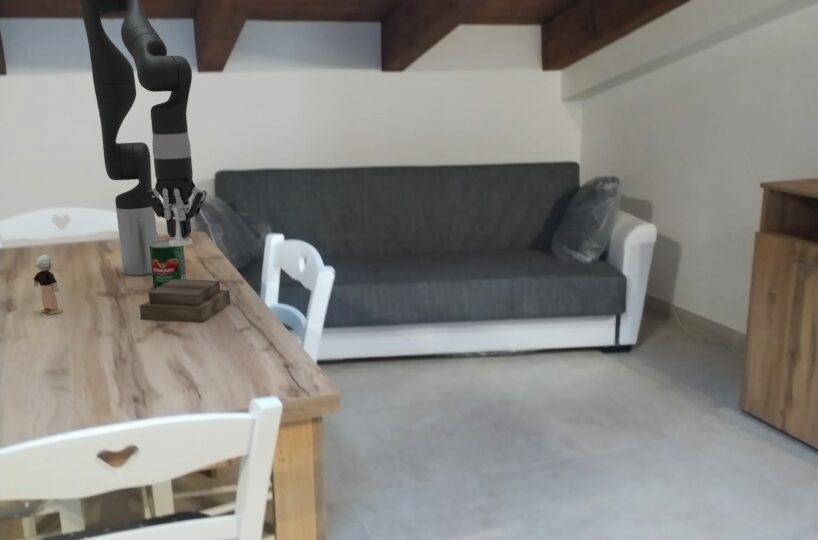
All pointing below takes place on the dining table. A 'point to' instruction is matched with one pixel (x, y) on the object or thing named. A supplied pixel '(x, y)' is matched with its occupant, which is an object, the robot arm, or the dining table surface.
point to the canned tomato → (166, 262)
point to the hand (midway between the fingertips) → (179, 236)
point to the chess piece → (178, 231)
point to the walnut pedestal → (185, 301)
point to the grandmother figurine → (47, 285)
